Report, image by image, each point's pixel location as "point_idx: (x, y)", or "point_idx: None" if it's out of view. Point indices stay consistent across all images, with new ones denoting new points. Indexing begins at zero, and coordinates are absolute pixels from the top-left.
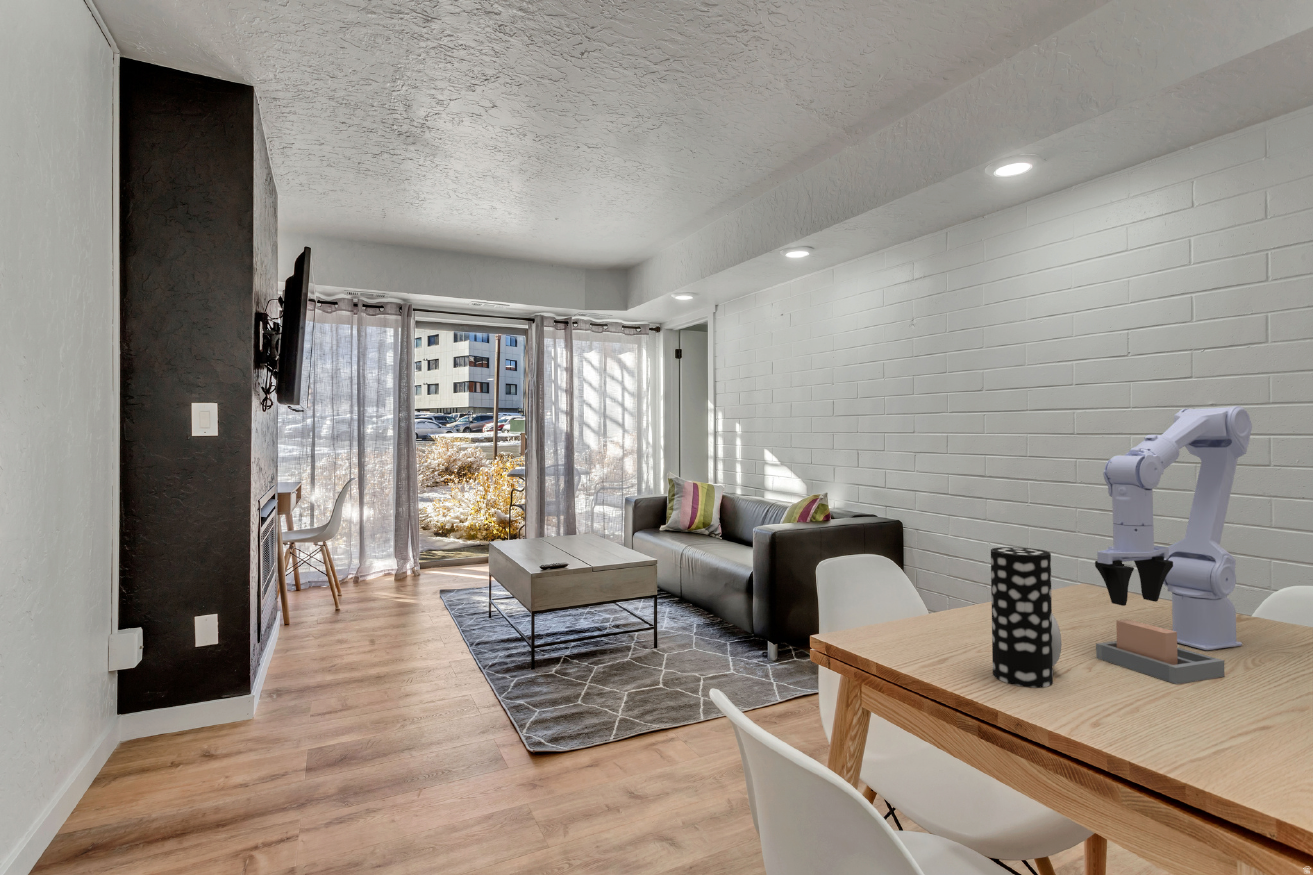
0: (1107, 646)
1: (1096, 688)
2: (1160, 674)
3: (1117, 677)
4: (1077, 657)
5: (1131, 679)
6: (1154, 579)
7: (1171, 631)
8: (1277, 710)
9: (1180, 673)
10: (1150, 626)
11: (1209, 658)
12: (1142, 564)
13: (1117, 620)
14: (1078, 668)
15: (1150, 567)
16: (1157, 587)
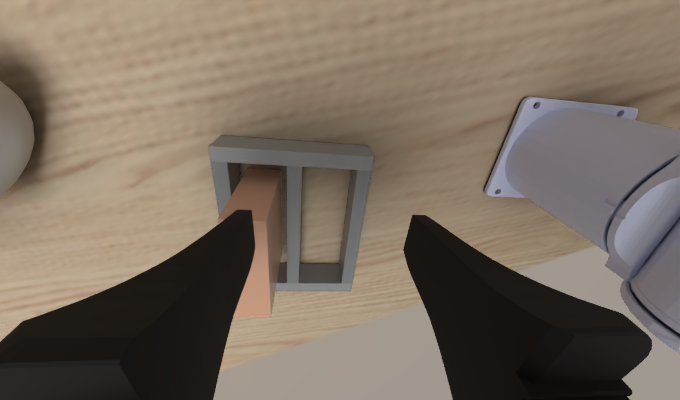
0: (216, 173)
1: (76, 246)
2: None
3: (164, 225)
4: (176, 112)
5: (182, 238)
6: (441, 316)
7: (263, 312)
8: (272, 340)
9: None
10: (256, 279)
11: (342, 279)
12: (502, 347)
13: (221, 220)
14: (118, 167)
15: (476, 365)
16: (423, 296)
